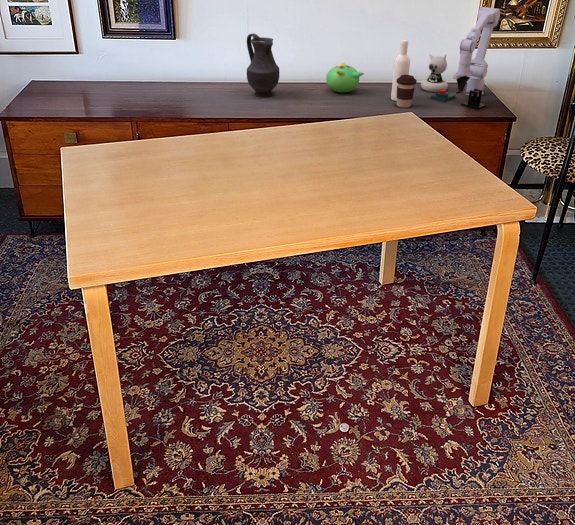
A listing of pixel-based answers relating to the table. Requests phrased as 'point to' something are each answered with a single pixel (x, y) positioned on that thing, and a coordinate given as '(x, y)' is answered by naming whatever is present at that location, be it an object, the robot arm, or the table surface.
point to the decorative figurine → (435, 75)
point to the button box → (442, 96)
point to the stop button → (442, 91)
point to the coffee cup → (405, 90)
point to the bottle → (400, 67)
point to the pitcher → (261, 66)
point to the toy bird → (343, 78)
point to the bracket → (474, 100)
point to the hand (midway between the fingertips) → (460, 90)
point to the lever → (465, 92)
